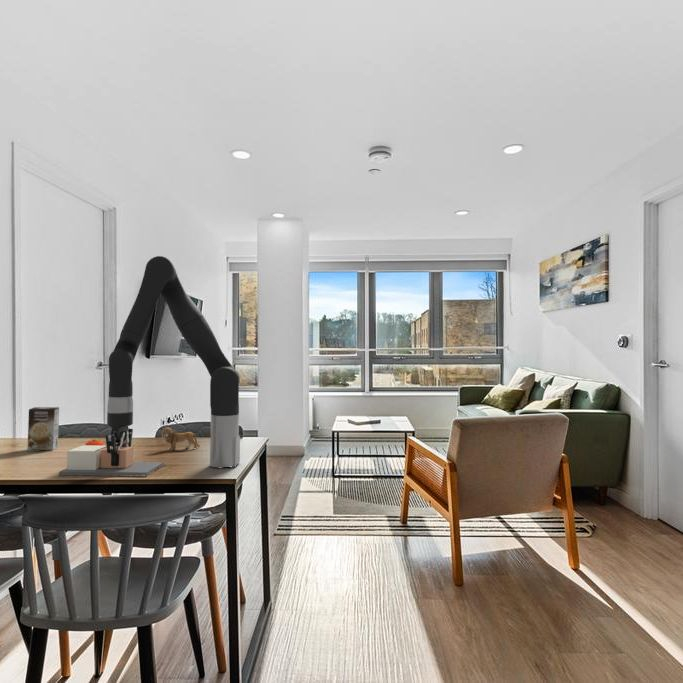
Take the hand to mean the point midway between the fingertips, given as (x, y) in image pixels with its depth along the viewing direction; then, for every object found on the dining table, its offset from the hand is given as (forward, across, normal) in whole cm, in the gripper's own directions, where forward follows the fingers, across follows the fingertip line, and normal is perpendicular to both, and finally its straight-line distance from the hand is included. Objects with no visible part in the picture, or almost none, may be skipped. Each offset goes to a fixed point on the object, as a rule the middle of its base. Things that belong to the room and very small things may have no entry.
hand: (119, 463), depth 153 cm
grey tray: (+2, 0, +2) cm, 3 cm away
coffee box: (+2, +31, +44) cm, 54 cm away
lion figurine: (+2, +33, -8) cm, 34 cm away
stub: (+1, 0, +1) cm, 1 cm away
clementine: (+2, +16, +16) cm, 23 cm away
